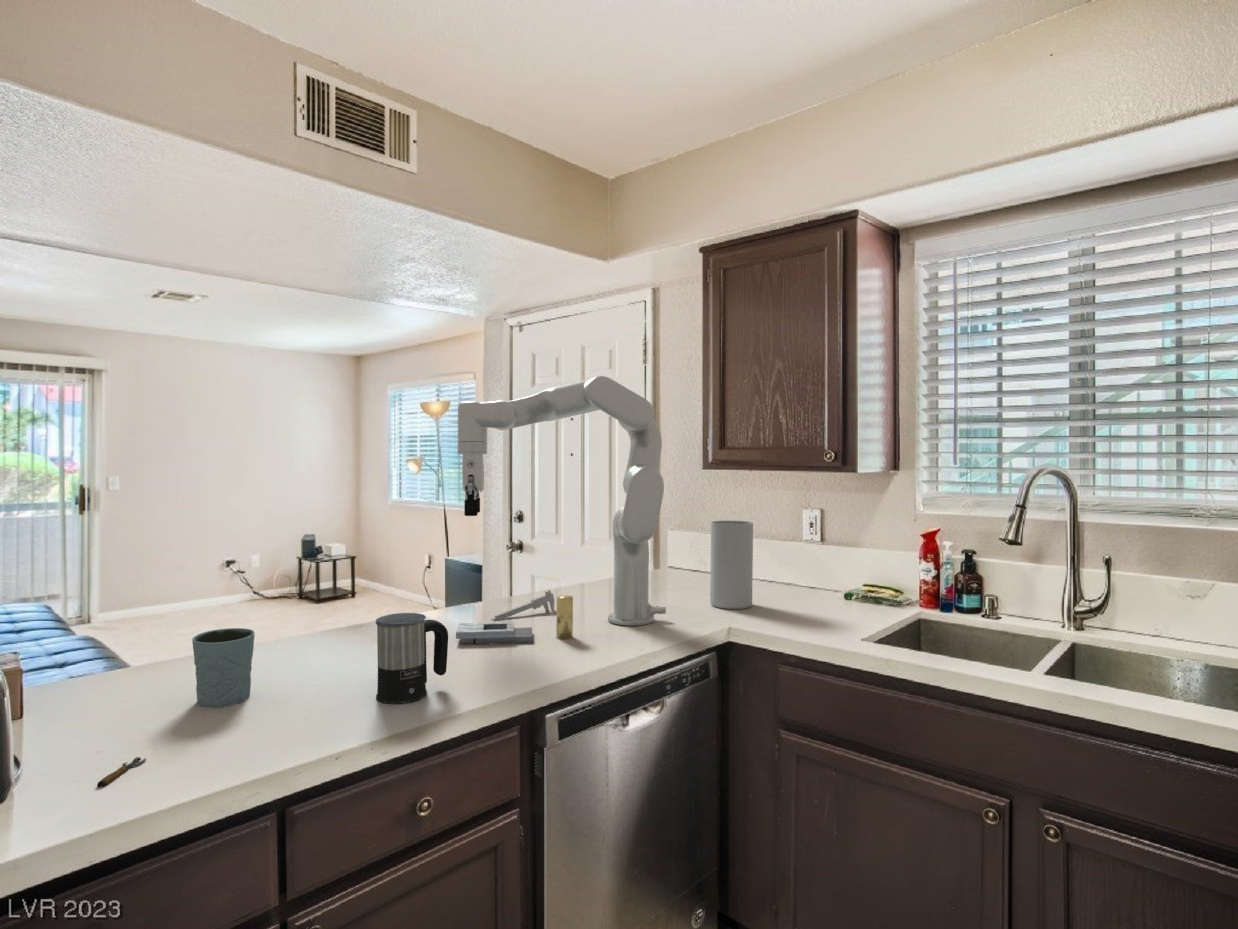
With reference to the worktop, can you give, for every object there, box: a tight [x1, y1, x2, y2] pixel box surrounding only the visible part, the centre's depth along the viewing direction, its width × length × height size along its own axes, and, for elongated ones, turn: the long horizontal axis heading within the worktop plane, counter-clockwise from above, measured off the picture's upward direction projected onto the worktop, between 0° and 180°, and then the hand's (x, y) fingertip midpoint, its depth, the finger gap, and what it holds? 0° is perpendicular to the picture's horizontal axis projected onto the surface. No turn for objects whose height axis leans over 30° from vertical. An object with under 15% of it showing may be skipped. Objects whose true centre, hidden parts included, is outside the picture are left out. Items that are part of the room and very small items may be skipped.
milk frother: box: [375, 612, 449, 705], centre depth 138 cm, size 14×16×15 cm
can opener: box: [97, 756, 147, 788], centre depth 102 cm, size 9×2×1 cm, turn 176°
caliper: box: [490, 589, 555, 621], centre depth 201 cm, size 20×1×6 cm, turn 131°
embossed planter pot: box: [191, 627, 256, 708], centre depth 132 cm, size 10×10×12 cm
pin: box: [556, 594, 574, 640], centre depth 177 cm, size 4×4×10 cm
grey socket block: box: [455, 621, 533, 645], centre depth 175 cm, size 18×9×3 cm, turn 98°
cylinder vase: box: [709, 520, 754, 610], centre depth 215 cm, size 12×12×25 cm
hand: (472, 514), depth 187 cm, fingers open, 9 cm apart
